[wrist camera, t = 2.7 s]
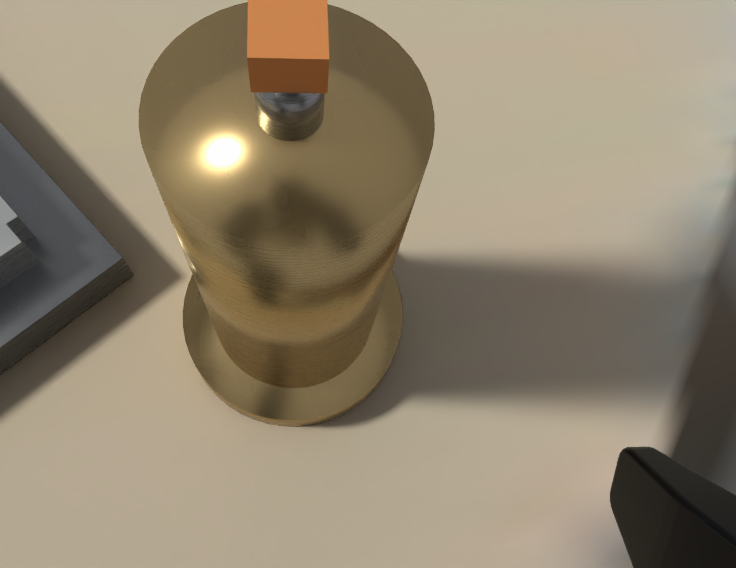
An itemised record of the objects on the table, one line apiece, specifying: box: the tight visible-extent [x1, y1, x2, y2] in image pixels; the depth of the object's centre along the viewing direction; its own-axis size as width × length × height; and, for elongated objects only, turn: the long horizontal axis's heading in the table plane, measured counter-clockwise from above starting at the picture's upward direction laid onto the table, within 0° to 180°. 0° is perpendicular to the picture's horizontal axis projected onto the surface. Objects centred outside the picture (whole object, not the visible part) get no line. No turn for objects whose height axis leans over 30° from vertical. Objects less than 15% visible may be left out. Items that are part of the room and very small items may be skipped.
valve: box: [139, 0, 435, 426], centre depth 16 cm, size 8×7×14 cm
